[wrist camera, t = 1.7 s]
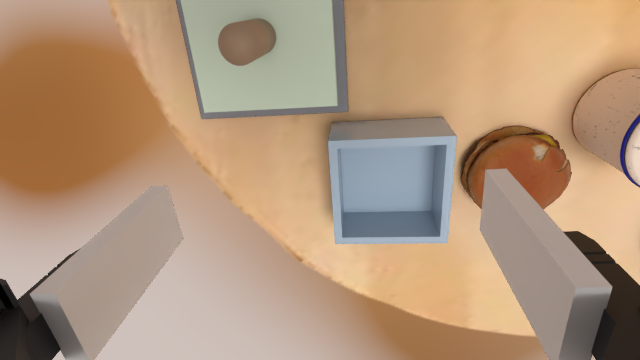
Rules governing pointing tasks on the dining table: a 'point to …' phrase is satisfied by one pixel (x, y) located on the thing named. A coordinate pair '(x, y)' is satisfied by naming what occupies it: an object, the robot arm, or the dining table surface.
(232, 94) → the lid
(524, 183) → the burger
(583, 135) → the teacup with lid
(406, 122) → the open box
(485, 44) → the dining table surface
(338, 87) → the mat
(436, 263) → the dining table surface
